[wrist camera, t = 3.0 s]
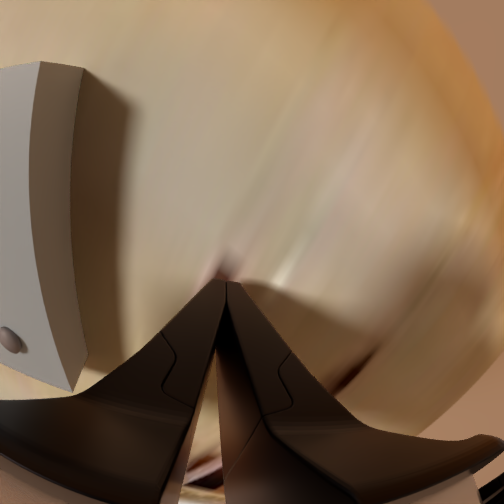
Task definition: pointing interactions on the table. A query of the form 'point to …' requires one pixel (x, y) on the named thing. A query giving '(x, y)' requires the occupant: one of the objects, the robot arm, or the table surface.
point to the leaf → (38, 224)
